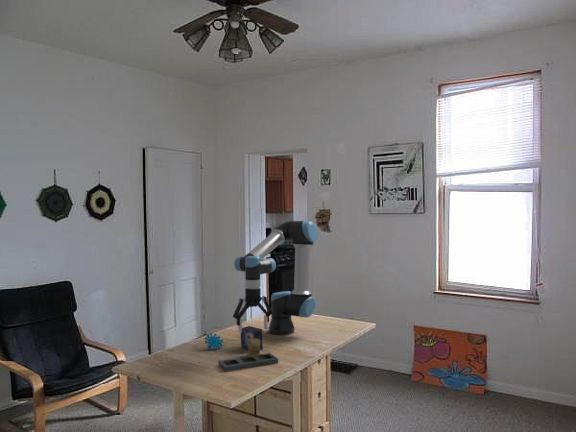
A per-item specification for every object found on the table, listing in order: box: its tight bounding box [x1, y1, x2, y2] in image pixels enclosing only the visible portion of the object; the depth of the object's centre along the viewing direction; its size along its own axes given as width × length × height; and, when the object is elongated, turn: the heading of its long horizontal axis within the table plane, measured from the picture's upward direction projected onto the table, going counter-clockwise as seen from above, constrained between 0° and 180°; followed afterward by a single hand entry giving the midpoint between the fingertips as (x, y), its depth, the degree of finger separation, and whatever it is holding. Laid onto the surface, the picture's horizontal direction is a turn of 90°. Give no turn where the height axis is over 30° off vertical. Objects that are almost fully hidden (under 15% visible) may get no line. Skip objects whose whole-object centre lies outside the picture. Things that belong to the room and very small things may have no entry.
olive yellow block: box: [247, 338, 261, 356], centre depth 242 cm, size 4×4×8 cm
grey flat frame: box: [218, 352, 279, 373], centre depth 230 cm, size 26×10×2 cm, turn 115°
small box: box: [240, 325, 264, 351], centre depth 254 cm, size 11×6×10 cm, turn 47°
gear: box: [204, 332, 225, 351], centre depth 256 cm, size 11×6×10 cm
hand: (253, 330), depth 242 cm, fingers open, 13 cm apart
